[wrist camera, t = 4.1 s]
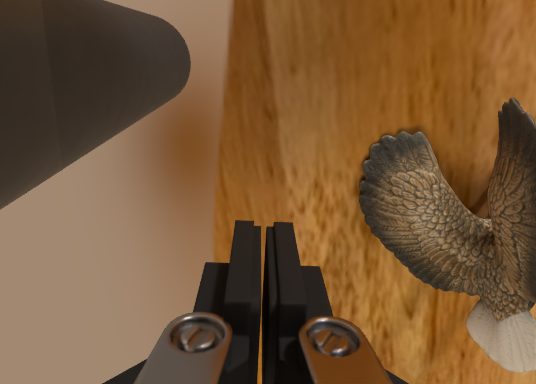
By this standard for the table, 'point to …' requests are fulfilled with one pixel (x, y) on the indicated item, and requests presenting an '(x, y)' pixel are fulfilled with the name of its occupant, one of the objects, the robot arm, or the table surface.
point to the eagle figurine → (465, 231)
